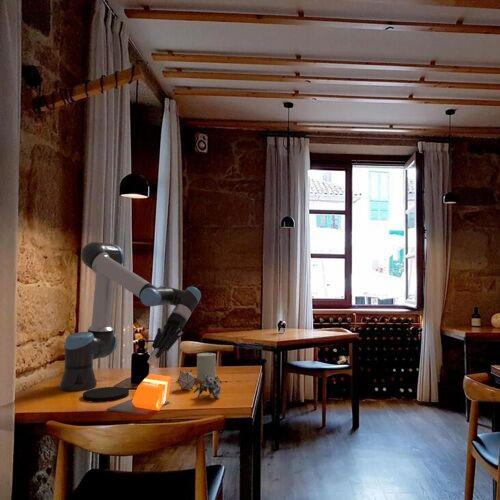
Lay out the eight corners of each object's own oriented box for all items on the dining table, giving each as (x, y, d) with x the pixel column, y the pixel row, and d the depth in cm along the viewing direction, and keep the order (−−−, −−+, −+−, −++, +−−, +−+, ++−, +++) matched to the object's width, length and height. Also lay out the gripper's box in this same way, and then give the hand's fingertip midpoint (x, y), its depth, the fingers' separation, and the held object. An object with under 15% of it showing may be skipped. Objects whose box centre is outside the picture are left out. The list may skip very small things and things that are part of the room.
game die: (188, 399, 189) (191, 383, 184) (171, 391, 191) (173, 375, 185) (198, 385, 196) (201, 369, 191) (181, 377, 198) (183, 361, 193)
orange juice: (169, 396, 173) (154, 417, 153) (146, 392, 174) (129, 413, 154) (171, 376, 173) (157, 395, 153) (149, 373, 174) (132, 391, 154)
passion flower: (216, 412, 175) (221, 391, 169) (189, 408, 175) (193, 387, 169) (219, 390, 185) (224, 370, 179) (194, 386, 184) (197, 365, 178)
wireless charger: (72, 400, 176) (72, 395, 176) (104, 390, 192) (104, 385, 192) (108, 405, 169) (108, 399, 169) (137, 394, 185) (137, 389, 185)
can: (219, 378, 213) (219, 352, 214) (208, 381, 205) (208, 355, 206) (204, 376, 218) (204, 351, 219) (192, 379, 210) (192, 353, 211)
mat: (107, 410, 161) (107, 408, 161) (134, 399, 175) (134, 397, 175) (144, 415, 154) (144, 413, 154) (169, 403, 169) (169, 401, 169)
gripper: (194, 324, 188) (167, 371, 173) (171, 322, 195) (143, 367, 180) (186, 312, 184) (157, 359, 169) (163, 311, 191) (133, 356, 176)
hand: (150, 363), depth 174 cm, fingers closed
